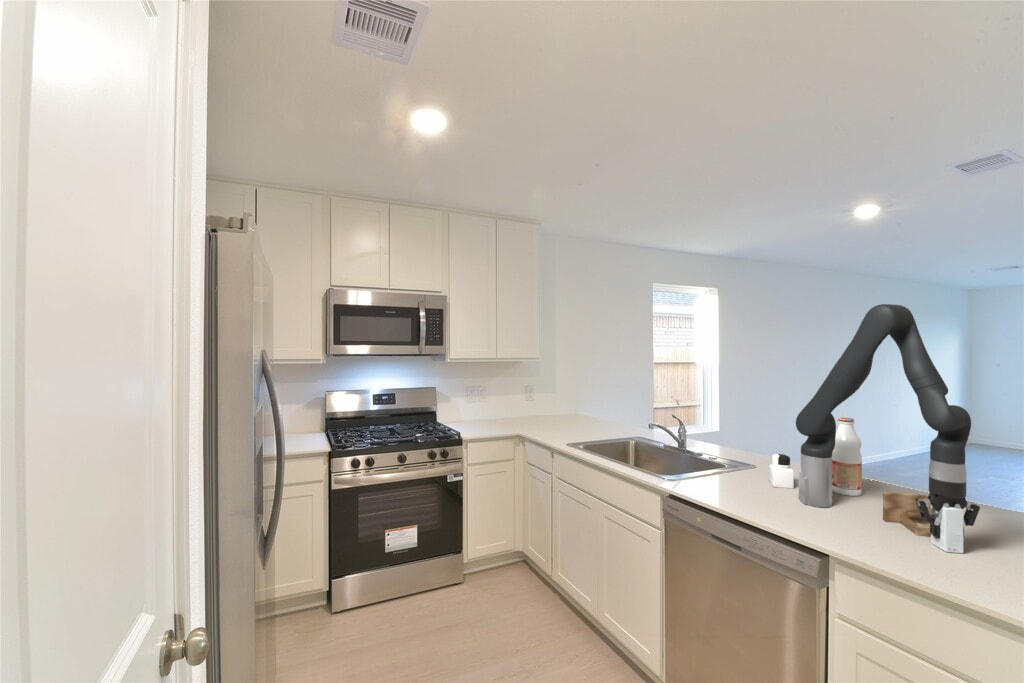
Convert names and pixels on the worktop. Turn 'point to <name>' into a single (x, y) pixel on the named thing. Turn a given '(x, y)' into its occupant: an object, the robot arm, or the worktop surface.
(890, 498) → the wooden frame stand
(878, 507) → the worktop surface
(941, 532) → the skincare box
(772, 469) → the medicine bottle
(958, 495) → the robot arm
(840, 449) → the fruit juice
